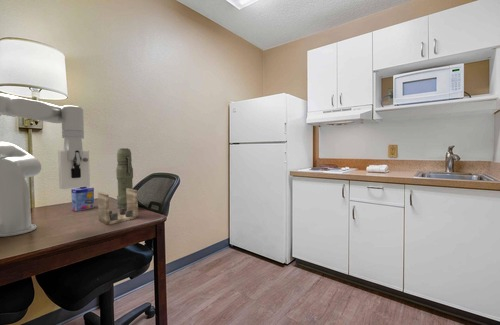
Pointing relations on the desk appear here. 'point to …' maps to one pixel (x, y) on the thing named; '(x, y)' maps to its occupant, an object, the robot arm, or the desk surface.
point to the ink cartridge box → (82, 198)
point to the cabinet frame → (125, 213)
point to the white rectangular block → (65, 171)
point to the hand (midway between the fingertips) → (74, 176)
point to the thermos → (124, 175)
